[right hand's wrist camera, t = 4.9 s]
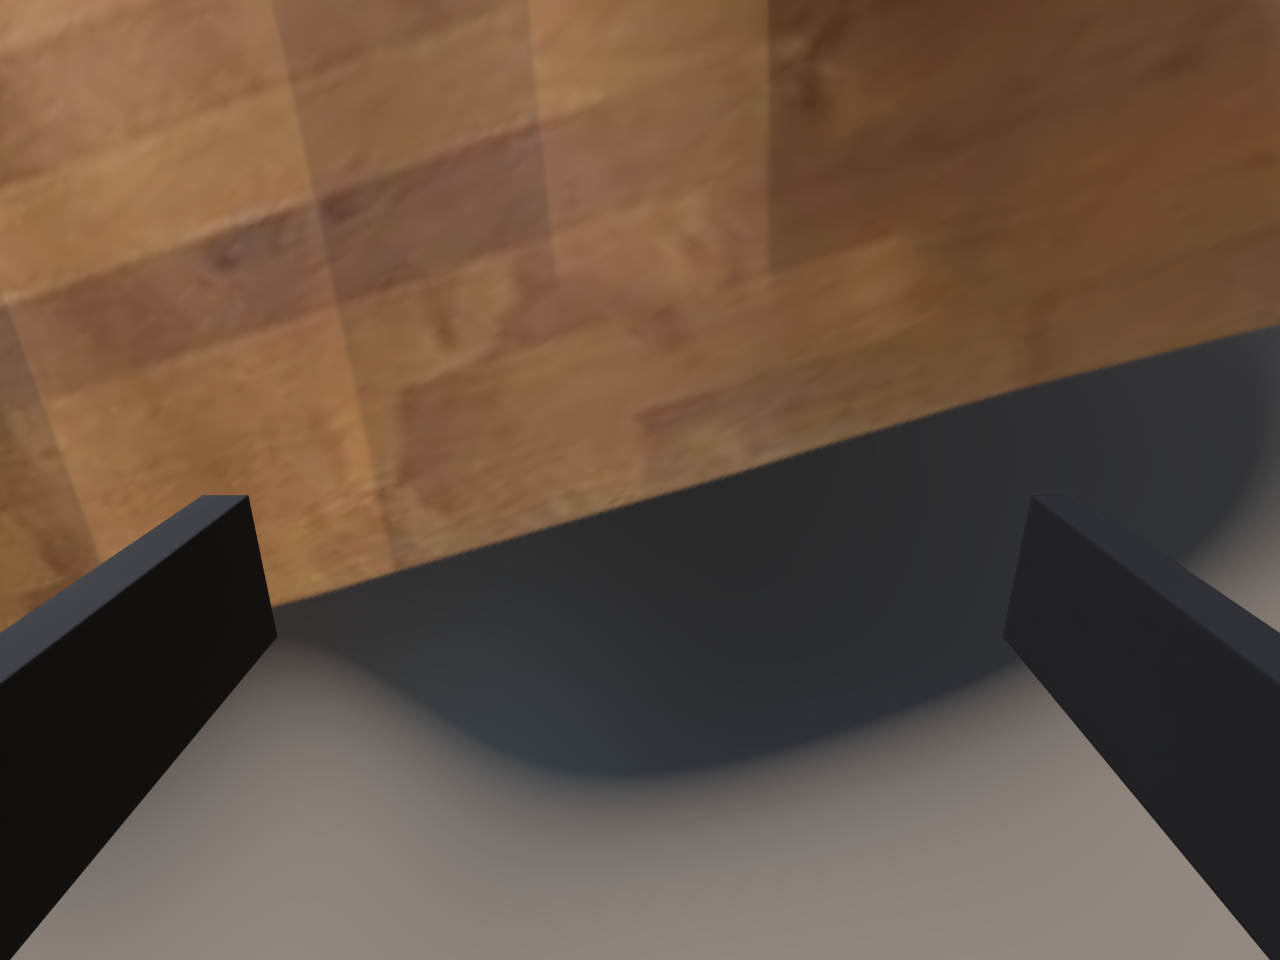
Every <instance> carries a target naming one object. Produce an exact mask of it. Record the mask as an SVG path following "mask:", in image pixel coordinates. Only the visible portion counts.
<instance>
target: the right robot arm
mask: <svg viewBox="0 0 1280 960" xmlns="http://www.w3.org/2000/svg"><path fill="white" fill-rule="evenodd" d="M276 637H277V633H276V628H275V623H274V618H273V613H272V608H271V603H270V598H269V594H268V589H267V584H266V579H265V574H264V569H263V564H262V560H261V555H260V550H259V545H258V540H257V535H256V530H255V526H254V521H253V516H252V511H251V506H250V501H249V496H248V495H202V496H201V497H199V498H198V499H196V500H195V501H194V502H192V503H191V504H189V505H188V506H186V507H185V508H183V509H182V510H180V511H179V512H177V513H176V514H174V515H173V516H172V517H170V518H169V519H167V520H166V521H164V522H163V523H161V524H160V525H158V526H157V527H155V528H154V529H152V530H151V531H149V532H148V533H147V534H145V535H144V536H142V537H141V538H139V539H138V540H136V541H135V542H133V543H132V544H130V545H129V546H127V547H126V548H124V549H123V550H122V551H120V552H119V553H117V554H116V555H114V556H113V557H111V558H110V559H108V560H107V561H105V562H104V563H102V564H101V565H100V566H98V567H97V568H95V569H94V570H92V571H91V572H89V573H88V574H86V575H85V576H83V577H82V578H80V579H79V580H77V581H76V582H75V583H73V584H72V585H70V586H69V587H67V588H66V589H64V590H63V591H61V592H60V593H58V594H57V595H55V596H54V597H52V598H51V599H50V600H48V601H47V602H45V603H44V604H42V605H41V606H39V607H38V608H36V609H35V610H33V611H32V612H30V613H29V614H28V615H26V616H25V617H23V618H22V619H20V620H19V621H17V622H16V623H14V624H13V625H11V626H10V627H8V628H7V629H5V630H4V631H3V632H1V633H0V960H10V959H11V958H12V957H13V956H14V954H15V953H16V952H17V951H18V950H19V948H20V947H21V946H22V945H23V944H24V942H25V941H26V940H27V939H28V938H29V936H30V935H31V934H32V933H33V931H34V930H35V929H36V928H37V927H38V925H39V924H40V923H41V922H42V921H43V919H44V918H45V917H46V916H47V915H48V913H49V912H50V911H51V910H52V908H53V907H54V906H55V905H56V904H57V902H58V901H59V900H60V899H61V898H62V896H63V895H64V894H65V893H66V892H67V890H68V889H69V888H70V887H71V885H72V884H73V883H74V882H75V881H76V879H77V878H78V877H79V876H80V875H81V873H82V872H83V871H84V870H85V869H86V867H87V866H88V865H89V864H90V863H91V861H92V860H93V859H94V858H95V856H96V855H97V854H98V853H99V852H100V850H101V849H102V848H103V847H104V846H105V844H106V843H107V842H108V841H109V840H110V838H111V837H112V836H113V835H114V833H115V832H116V831H117V830H118V829H119V827H120V826H121V825H122V824H123V823H124V821H125V820H126V819H127V818H128V817H129V815H130V814H131V813H132V812H133V810H134V809H135V808H136V807H137V806H138V804H139V803H140V802H141V801H142V800H143V798H144V797H145V796H146V795H147V794H148V792H149V791H150V790H151V789H152V787H153V786H154V785H155V784H156V783H157V781H158V780H159V779H160V778H161V777H162V775H163V774H164V773H165V772H166V771H167V769H168V768H169V767H170V766H171V765H172V763H173V762H174V761H175V760H176V758H177V757H178V756H179V755H180V754H181V752H182V751H183V750H184V749H185V748H186V746H187V745H188V744H189V743H190V741H191V740H192V739H193V738H194V737H195V735H196V734H197V733H198V732H199V731H200V729H201V728H202V727H203V726H204V725H205V723H206V722H207V721H208V720H209V719H210V717H211V716H212V715H213V714H214V712H215V711H216V710H217V709H218V708H219V706H220V705H221V704H222V703H223V702H224V700H225V699H226V698H227V697H228V696H229V694H230V693H231V692H232V691H233V690H234V688H235V687H236V686H237V685H238V683H239V682H240V681H241V680H242V679H243V677H244V676H245V675H246V674H247V673H248V671H249V670H250V669H251V668H252V666H253V665H254V664H255V663H256V662H257V660H258V659H259V658H260V657H261V656H262V654H263V653H264V652H265V651H266V650H267V648H268V647H269V646H270V645H271V644H272V642H273V641H274V640H275V639H276ZM1003 637H1004V639H1005V640H1006V641H1007V642H1008V644H1009V645H1010V646H1011V647H1012V648H1013V650H1014V651H1015V652H1016V653H1017V654H1018V656H1019V657H1020V658H1021V659H1022V660H1023V662H1024V663H1025V664H1026V665H1027V667H1028V668H1029V669H1030V670H1031V671H1032V672H1033V674H1034V675H1035V676H1036V677H1037V679H1038V680H1039V681H1040V682H1041V683H1042V685H1043V686H1044V687H1045V688H1046V690H1047V691H1048V692H1049V693H1050V694H1051V695H1052V697H1053V698H1054V699H1055V700H1056V702H1057V703H1058V704H1059V705H1060V706H1061V708H1062V709H1063V710H1064V711H1065V712H1066V714H1067V715H1068V716H1069V717H1070V719H1071V720H1072V721H1073V722H1074V723H1075V725H1076V726H1077V727H1078V728H1079V729H1080V731H1081V732H1082V733H1083V734H1084V735H1085V737H1086V738H1087V739H1088V740H1089V742H1090V743H1091V744H1092V745H1093V746H1094V748H1095V749H1096V750H1097V751H1098V752H1099V754H1100V755H1101V756H1102V757H1103V758H1104V760H1105V761H1106V762H1107V763H1108V764H1109V766H1110V767H1111V768H1112V769H1113V771H1114V772H1115V773H1116V774H1117V775H1118V777H1119V778H1120V779H1121V780H1122V781H1123V783H1124V784H1125V785H1126V786H1127V787H1128V789H1129V790H1130V791H1131V792H1132V794H1133V795H1134V796H1135V797H1136V798H1137V800H1138V801H1139V802H1140V803H1141V804H1142V806H1143V807H1144V808H1145V809H1146V810H1147V812H1148V813H1149V814H1150V815H1151V817H1152V818H1153V819H1154V820H1155V821H1156V822H1157V824H1158V825H1159V826H1160V827H1161V829H1162V830H1163V831H1164V832H1165V833H1166V835H1167V836H1168V837H1169V838H1170V840H1171V841H1172V842H1173V843H1174V844H1175V846H1176V847H1177V848H1178V849H1179V850H1180V852H1181V853H1182V854H1183V855H1184V856H1185V858H1186V859H1187V860H1188V861H1189V862H1190V864H1191V865H1192V866H1193V867H1194V869H1195V870H1196V871H1197V872H1198V873H1199V874H1200V876H1201V877H1202V878H1203V879H1204V881H1205V882H1206V883H1207V884H1208V886H1209V887H1210V888H1211V889H1212V890H1213V892H1214V893H1215V894H1216V895H1217V896H1218V898H1219V899H1220V900H1221V901H1222V902H1223V904H1224V905H1225V906H1226V907H1227V909H1228V910H1229V911H1230V912H1231V913H1232V915H1233V916H1234V917H1235V918H1236V919H1237V921H1238V922H1239V923H1240V924H1241V925H1242V927H1243V928H1244V929H1245V930H1246V931H1247V933H1248V934H1249V935H1250V936H1251V938H1252V939H1253V940H1254V941H1255V942H1256V944H1257V945H1258V946H1259V947H1260V948H1261V950H1262V951H1263V952H1264V953H1265V954H1266V956H1267V957H1268V958H1269V959H1270V960H1280V633H1279V632H1277V631H1276V630H1275V629H1273V628H1271V627H1270V626H1269V625H1267V624H1266V623H1264V622H1263V621H1261V620H1260V619H1258V618H1257V617H1255V616H1254V615H1252V614H1251V613H1250V612H1248V611H1247V610H1245V609H1244V608H1242V607H1241V606H1239V605H1238V604H1236V603H1235V602H1233V601H1232V600H1230V599H1229V598H1228V597H1226V596H1225V595H1223V594H1222V593H1220V592H1219V591H1217V590H1216V589H1214V588H1213V587H1211V586H1210V585H1208V584H1207V583H1205V582H1204V581H1202V580H1201V579H1200V578H1198V577H1197V576H1195V575H1194V574H1192V573H1191V572H1189V571H1188V570H1186V569H1185V568H1183V567H1182V566H1180V565H1179V564H1178V563H1176V562H1175V561H1173V560H1172V559H1170V558H1169V557H1167V556H1166V555H1164V554H1163V553H1161V552H1160V551H1158V550H1157V549H1156V548H1154V547H1153V546H1151V545H1150V544H1148V543H1147V542H1145V541H1144V540H1142V539H1141V538H1139V537H1138V536H1136V535H1135V534H1133V533H1132V532H1130V531H1129V530H1128V529H1126V528H1125V527H1123V526H1122V525H1120V524H1119V523H1117V522H1116V521H1114V520H1113V519H1111V518H1110V517H1108V516H1107V515H1106V514H1104V513H1103V512H1101V511H1100V510H1098V509H1097V508H1095V507H1094V506H1092V505H1091V504H1089V503H1088V502H1086V501H1085V500H1083V499H1082V498H1081V497H1079V496H1077V495H1032V496H1031V501H1030V506H1029V511H1028V516H1027V521H1026V526H1025V531H1024V535H1023V540H1022V545H1021V550H1020V555H1019V560H1018V564H1017V569H1016V574H1015V579H1014V584H1013V589H1012V594H1011V598H1010V603H1009V608H1008V613H1007V618H1006V623H1005V628H1004V633H1003Z"/></svg>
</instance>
